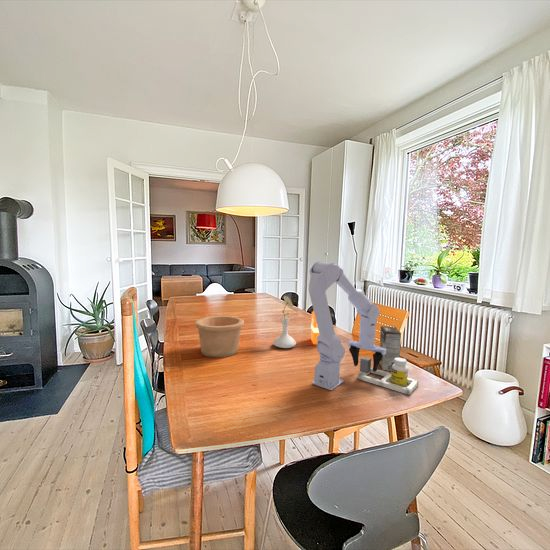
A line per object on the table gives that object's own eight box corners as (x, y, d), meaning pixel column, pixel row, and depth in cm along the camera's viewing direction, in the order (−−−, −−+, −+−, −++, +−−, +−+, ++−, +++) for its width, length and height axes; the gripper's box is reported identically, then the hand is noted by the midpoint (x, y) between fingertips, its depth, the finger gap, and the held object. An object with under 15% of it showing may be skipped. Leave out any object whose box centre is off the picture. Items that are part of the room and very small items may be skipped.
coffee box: (378, 362, 132) (380, 325, 130) (393, 363, 131) (396, 326, 129) (382, 370, 123) (384, 331, 121) (399, 371, 122) (401, 332, 120)
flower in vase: (297, 350, 144) (298, 298, 141) (273, 350, 144) (274, 298, 141) (295, 341, 157) (296, 294, 154) (273, 341, 157) (274, 293, 154)
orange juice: (313, 344, 154) (314, 305, 152) (310, 339, 163) (311, 302, 161) (328, 344, 154) (330, 305, 152) (325, 339, 163) (326, 302, 161)
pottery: (237, 342, 154) (238, 314, 153) (248, 357, 133) (248, 325, 132) (194, 345, 147) (193, 316, 146) (197, 362, 127) (197, 328, 125)
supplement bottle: (388, 385, 110) (389, 359, 109) (394, 380, 113) (396, 355, 112) (403, 390, 106) (404, 363, 105) (409, 385, 109) (411, 359, 109)
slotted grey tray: (409, 395, 102) (410, 376, 101) (355, 378, 114) (356, 361, 114) (418, 384, 110) (419, 367, 110) (366, 369, 123) (367, 354, 122)
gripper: (389, 335, 114) (387, 370, 116) (354, 328, 124) (352, 360, 125) (383, 339, 109) (380, 375, 110) (346, 331, 118) (344, 365, 120)
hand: (365, 368), depth 117 cm, fingers open, 7 cm apart
